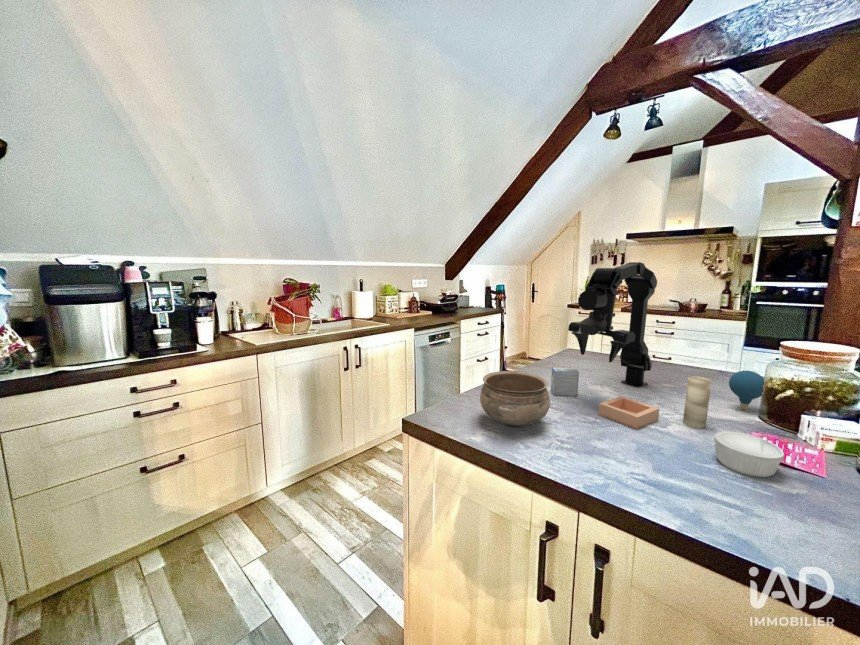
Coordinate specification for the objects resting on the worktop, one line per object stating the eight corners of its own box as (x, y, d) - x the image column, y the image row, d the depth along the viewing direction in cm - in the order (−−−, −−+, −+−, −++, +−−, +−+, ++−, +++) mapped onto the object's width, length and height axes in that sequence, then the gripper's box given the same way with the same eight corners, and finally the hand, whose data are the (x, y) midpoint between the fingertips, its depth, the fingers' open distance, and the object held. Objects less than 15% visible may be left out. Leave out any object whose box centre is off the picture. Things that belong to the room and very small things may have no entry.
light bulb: (753, 405, 108) (759, 368, 106) (769, 417, 100) (775, 376, 98) (720, 402, 110) (725, 366, 108) (733, 413, 103) (739, 374, 101)
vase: (688, 419, 99) (693, 375, 97) (709, 425, 95) (715, 380, 93) (679, 423, 97) (684, 378, 94) (700, 430, 92) (706, 383, 90)
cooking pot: (492, 401, 113) (493, 364, 111) (554, 411, 105) (556, 372, 103) (466, 434, 91) (466, 390, 89) (541, 450, 83) (544, 402, 81)
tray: (620, 406, 108) (621, 396, 107) (658, 420, 98) (659, 408, 98) (598, 414, 102) (599, 403, 102) (636, 429, 93) (637, 417, 92)
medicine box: (573, 391, 121) (575, 367, 119) (577, 396, 116) (579, 371, 115) (550, 391, 122) (551, 367, 120) (553, 395, 117) (554, 371, 116)
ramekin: (795, 484, 70) (800, 459, 69) (732, 478, 72) (736, 454, 71) (754, 454, 81) (758, 433, 80) (701, 450, 83) (703, 429, 82)
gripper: (560, 305, 110) (554, 353, 113) (620, 314, 95) (611, 369, 98) (581, 305, 116) (575, 350, 119) (640, 313, 101) (631, 365, 104)
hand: (596, 358), depth 110 cm, fingers open, 9 cm apart
